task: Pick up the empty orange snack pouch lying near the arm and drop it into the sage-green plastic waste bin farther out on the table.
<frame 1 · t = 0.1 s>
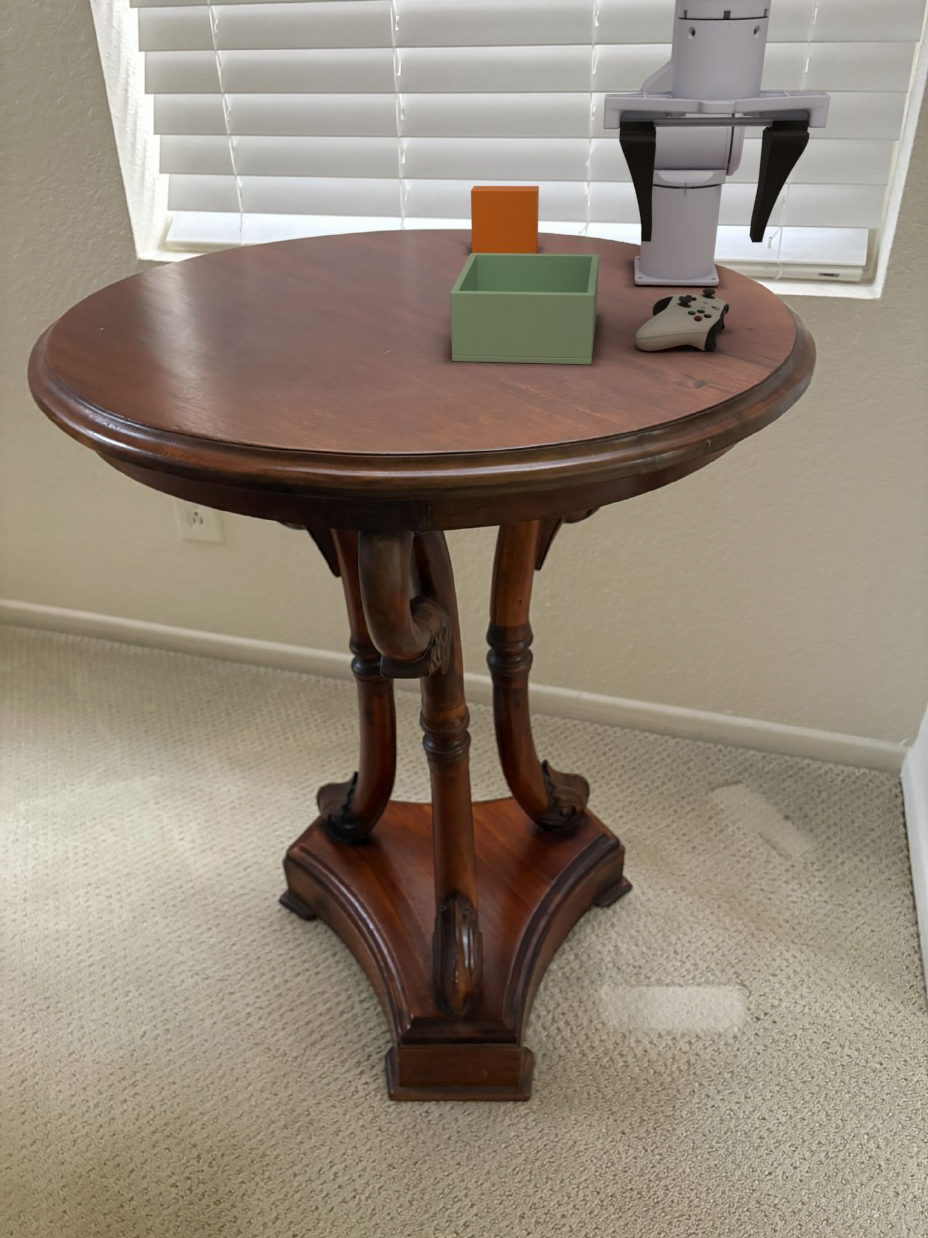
hand: (700, 238, 72), 10 cm above the table, tool pointing down, fingers open, 7 cm apart
game controller: (682, 340, 85), on the table
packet: (505, 251, 110), on the table
bin: (527, 338, 86), on the table
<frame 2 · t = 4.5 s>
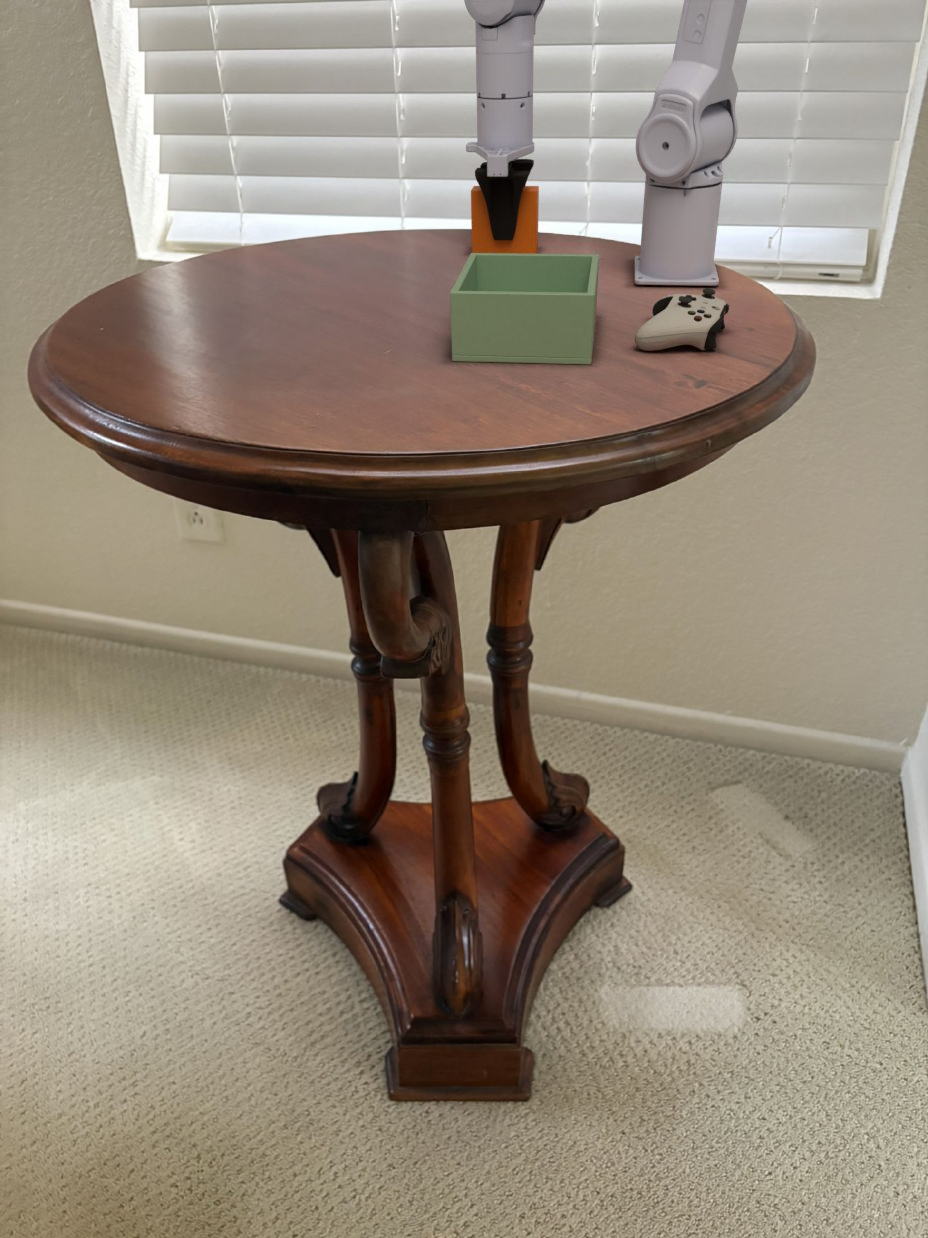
hand: (505, 236, 109), 2 cm above the table, tool pointing down, fingers closed on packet, 2 cm apart
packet: (505, 251, 110), on the table, touching gripper
everything else where it was.
when the fingers open (4 cm above the table, at t = 9.3 s): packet drops 2 cm, resting on bin.
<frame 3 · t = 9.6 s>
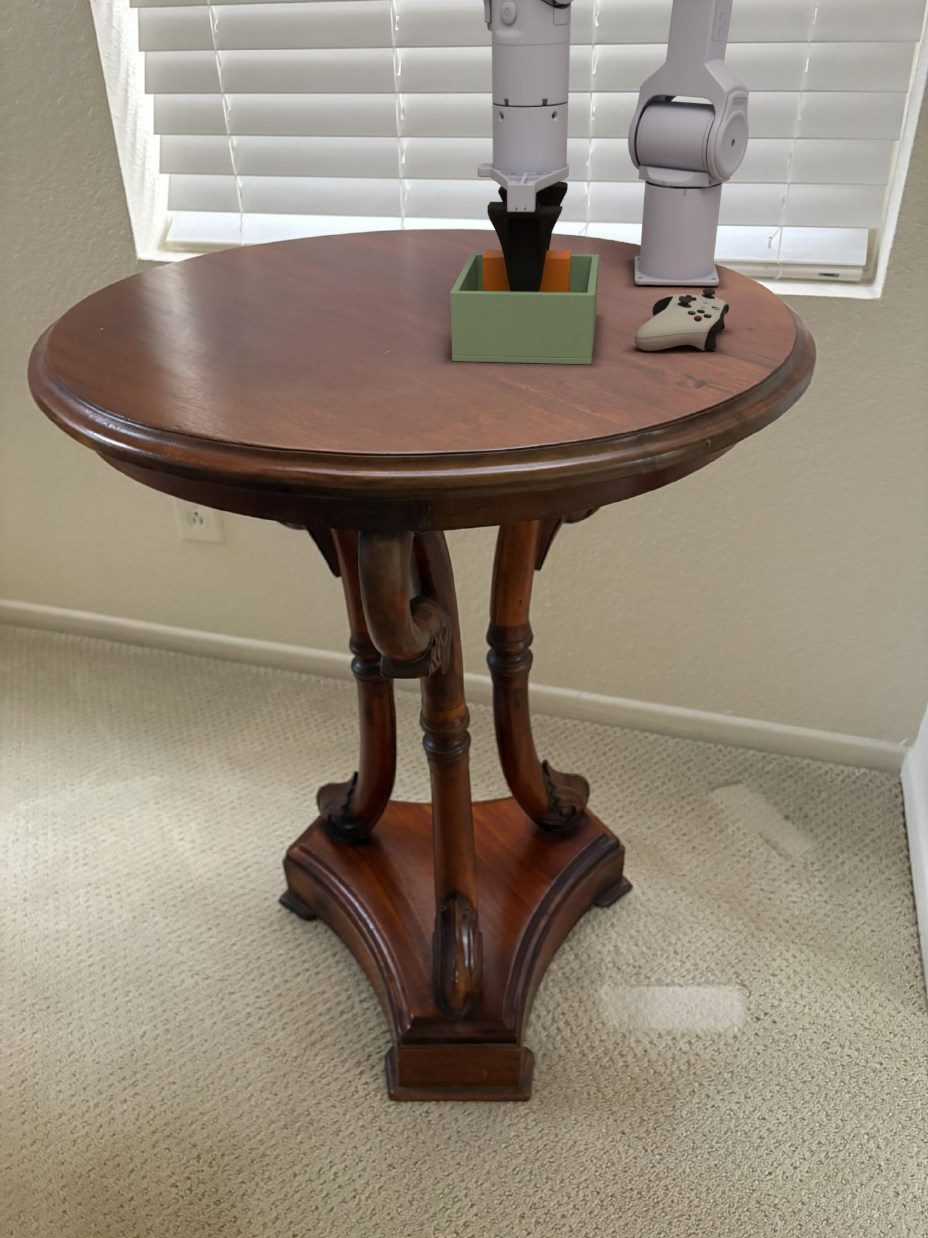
hand: (528, 285, 83), 4 cm above the table, tool pointing down, fingers open, 5 cm apart
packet: (526, 332, 85), resting on bin
everything else where it was.
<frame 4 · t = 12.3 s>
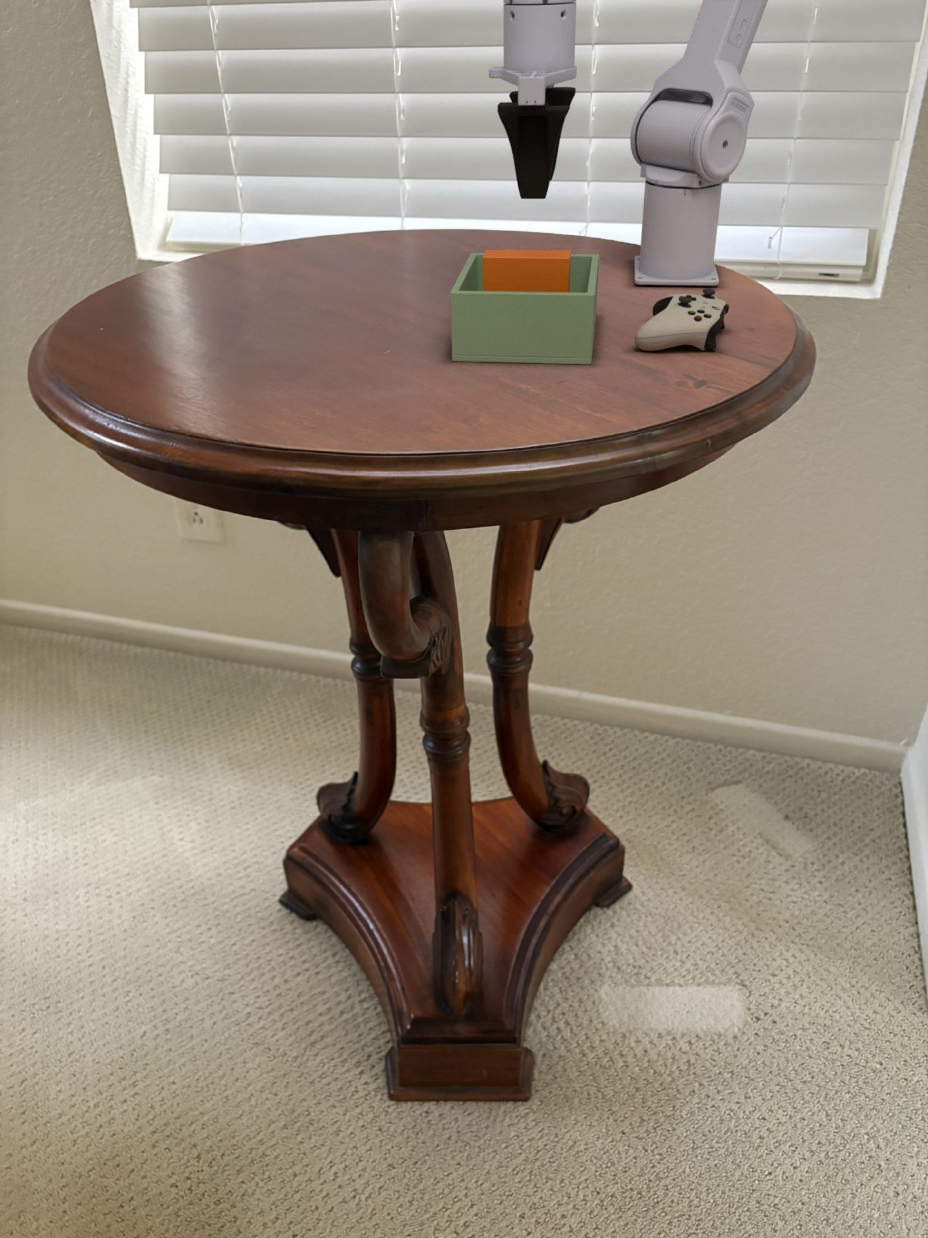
hand: (537, 188, 86), 10 cm above the table, tool pointing down, fingers open, 7 cm apart
nothing on the table moved.
at the end: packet inside the target area in the bin (0.1 cm from its centre), point 0.5 cm above the bin's base; the gripper is holding nothing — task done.
